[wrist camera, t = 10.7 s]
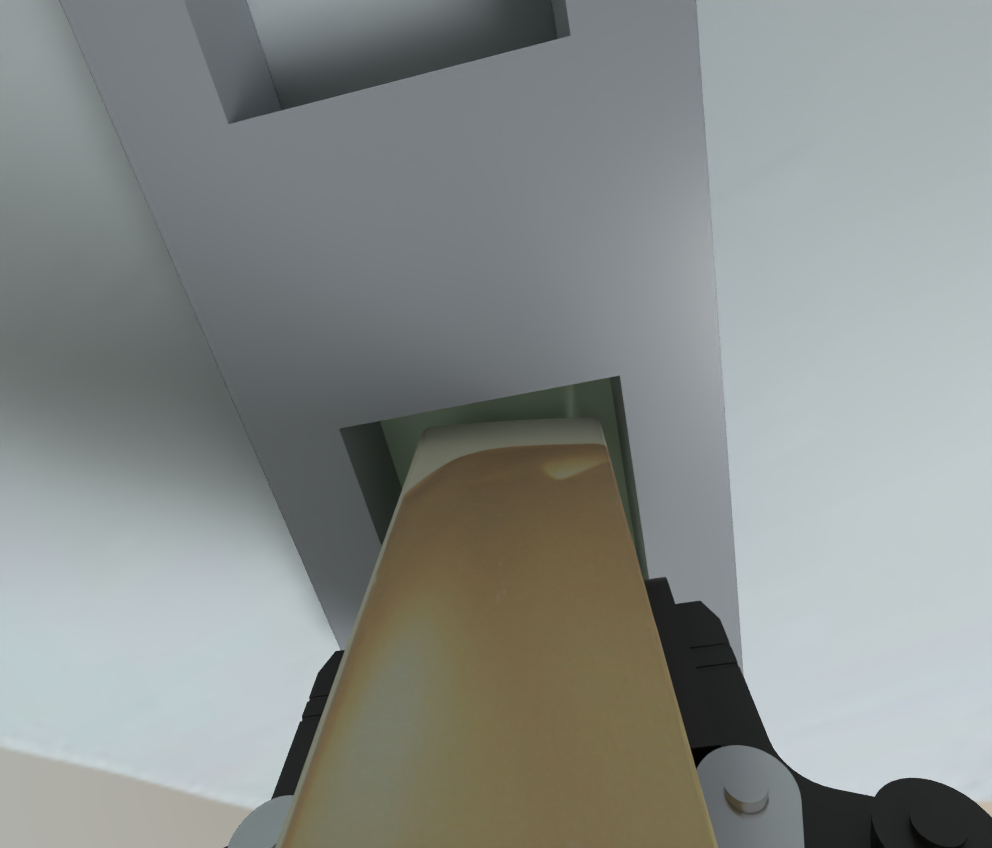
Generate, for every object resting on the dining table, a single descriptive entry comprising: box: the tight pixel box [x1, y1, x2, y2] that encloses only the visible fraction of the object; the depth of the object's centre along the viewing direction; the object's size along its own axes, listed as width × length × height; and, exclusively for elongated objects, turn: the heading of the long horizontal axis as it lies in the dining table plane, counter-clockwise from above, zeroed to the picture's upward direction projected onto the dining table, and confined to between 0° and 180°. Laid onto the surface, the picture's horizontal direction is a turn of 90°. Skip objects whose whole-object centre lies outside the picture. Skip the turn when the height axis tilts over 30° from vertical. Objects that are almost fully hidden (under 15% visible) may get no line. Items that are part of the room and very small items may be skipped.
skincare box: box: [275, 417, 718, 848], centre depth 10 cm, size 6×4×12 cm
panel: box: [59, 0, 743, 674], centre depth 13 cm, size 10×24×3 cm, turn 12°
